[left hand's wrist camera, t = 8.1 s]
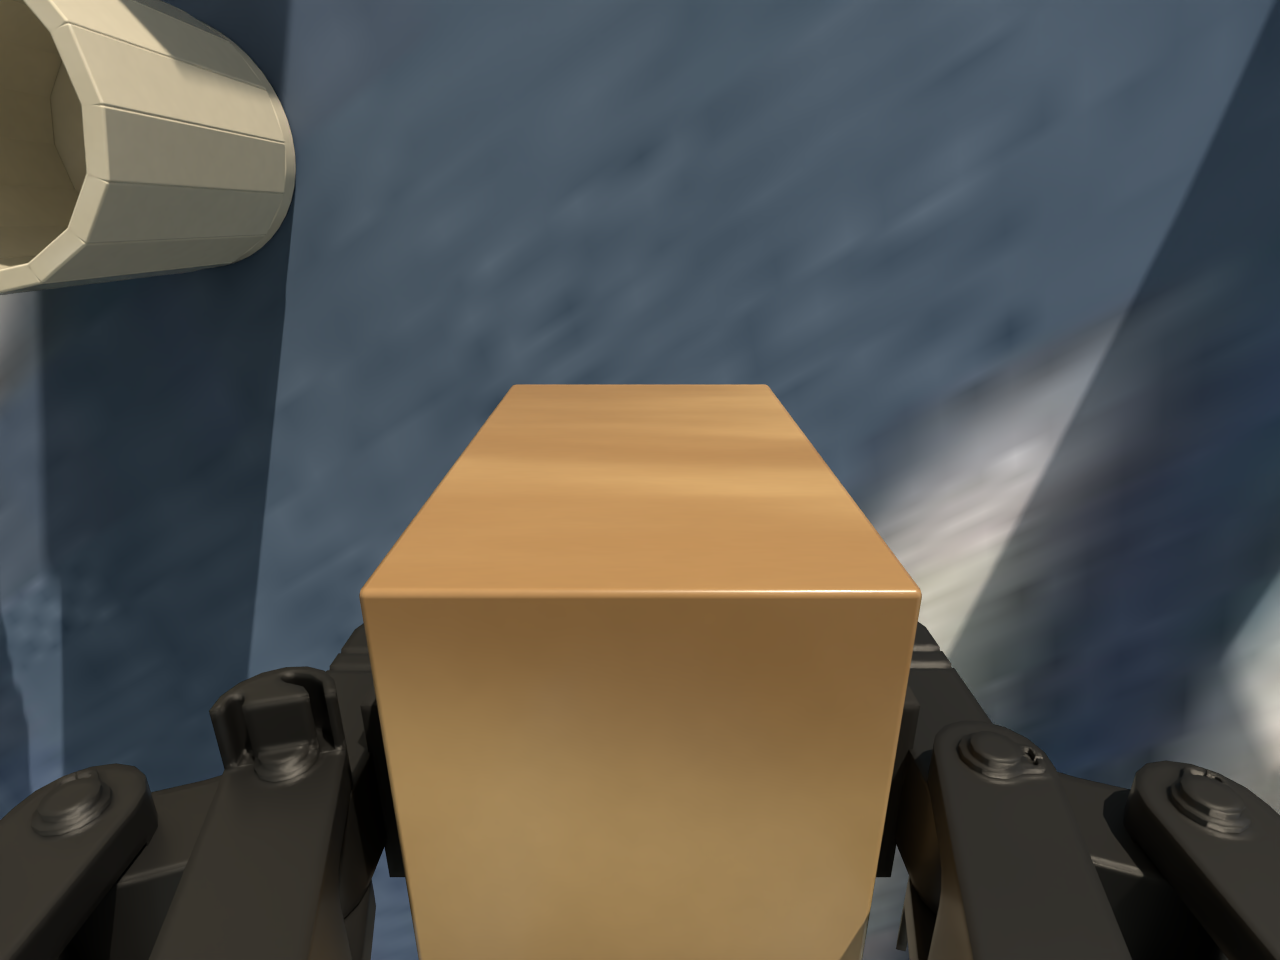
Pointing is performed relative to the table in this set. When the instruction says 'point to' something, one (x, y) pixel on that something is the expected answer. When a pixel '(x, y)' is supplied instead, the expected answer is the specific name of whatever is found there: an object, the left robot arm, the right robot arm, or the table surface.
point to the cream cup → (131, 145)
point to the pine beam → (640, 684)
